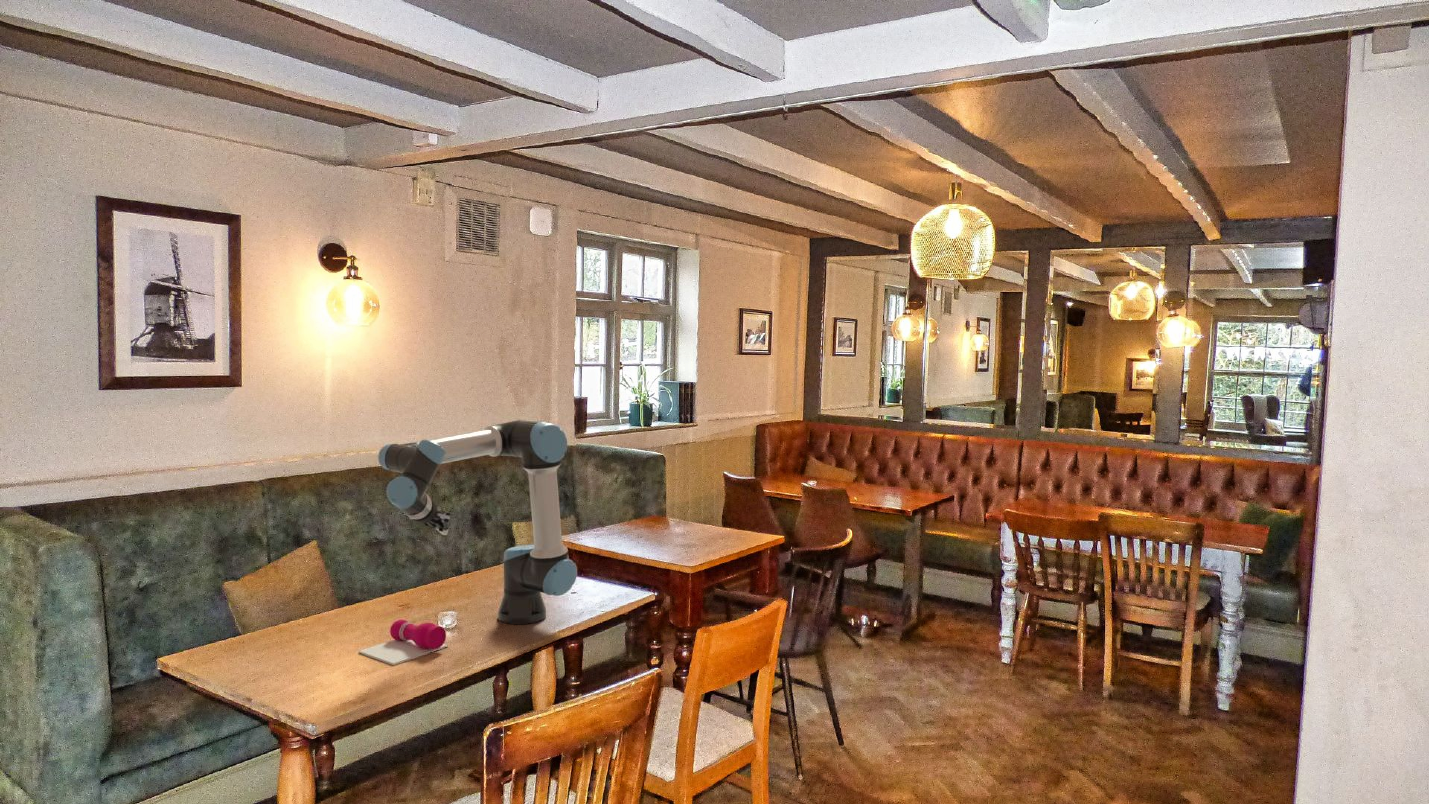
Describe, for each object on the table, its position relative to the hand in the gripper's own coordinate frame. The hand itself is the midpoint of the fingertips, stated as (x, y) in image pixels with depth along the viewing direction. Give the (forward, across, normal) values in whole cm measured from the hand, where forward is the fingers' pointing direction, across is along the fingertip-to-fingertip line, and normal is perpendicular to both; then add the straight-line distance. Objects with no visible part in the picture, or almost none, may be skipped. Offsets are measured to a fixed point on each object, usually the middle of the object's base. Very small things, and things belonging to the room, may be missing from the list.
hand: (445, 530), depth 257 cm
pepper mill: (-1, +7, -31) cm, 32 cm away
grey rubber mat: (+2, -3, -35) cm, 36 cm away
